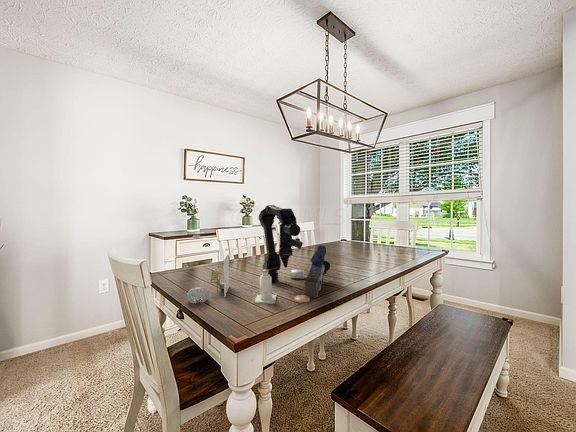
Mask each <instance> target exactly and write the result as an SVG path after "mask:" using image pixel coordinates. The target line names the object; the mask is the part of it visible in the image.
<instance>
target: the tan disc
mask: <svg viewBox="0 0 576 432" xmlns="http://www.w3.org/2000/svg"><path fill="white" fill-rule="evenodd" d="M294 301H295V303H296V302H297V303H301V304H302V303H303V304H304V303H305V304H306V303H308V302H310V301H311V297H309V296H306V295H304V294H299V295H298V294H297V295H296V296H294Z"/></svg>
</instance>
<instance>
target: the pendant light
mask: <svg viewBox="0 0 576 432" xmlns="http://www.w3.org/2000/svg"><path fill="white" fill-rule="evenodd" d="M192 238H194V239H195V240H198V239H199V238H201V235H200V234H194V235H193V236H192ZM196 267H197V269H196V270H197V271H196V272H197V274H196V275H197V276H196V277H197V278H199V276H198V267H199V266H196ZM209 295H210V291H209V289H208V288H206V287H205V286H204V287H203V286H196V287H192V288H191V289H189V290H188V292H187V294H186V298H187V301H188V302H189V303H191V304H194V303H195V304H196V303H197V304H198V301H199V302H200V303H199V304H201V302H202V303H204V302H205V301H207V300H208V299H209ZM201 298H202V299H201ZM200 299H201V300H202V301H201V300H200ZM196 300H197V301H196ZM194 301H195V302H194Z"/></svg>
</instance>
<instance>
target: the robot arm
mask: <svg viewBox="0 0 576 432" xmlns="http://www.w3.org/2000/svg"><path fill="white" fill-rule="evenodd" d="M275 218H277V219H278V223H277V224H278V225H279V245H278V246H279V249H278V253H277V252H276V246H275V240H274V233H273V231H274V230H273V225H274V222H275ZM258 221H259V225H260V226H261V227H262V228H263V233H264V240H265V247H266V256H265V257H264V262H263V264H262V270H264V269H267V270H269V272H268V274H270V276H271V277H272V284H275V283H276V282H278V281H279V280H280V279H279V272H278V271H280V270H281V265H282V264H283V267H284V268H285V269H286V268H288V264H289V259H290V258H291V256H293V247H294V248H298V250H301V249H302V246H303V244H304V242H303V241H301V239H300V238H299V237H297V236H299V235H300V234H301V227H300V225H299V224H298V222H297V217H296V216H295V213H294V211H293V209H292V208H281V207H278V206H276V205H275V204H272V205H271V204H267V205H265V207H264V208H263V209H262V210H260V211H259V214H258ZM293 237H296V238H293Z"/></svg>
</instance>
